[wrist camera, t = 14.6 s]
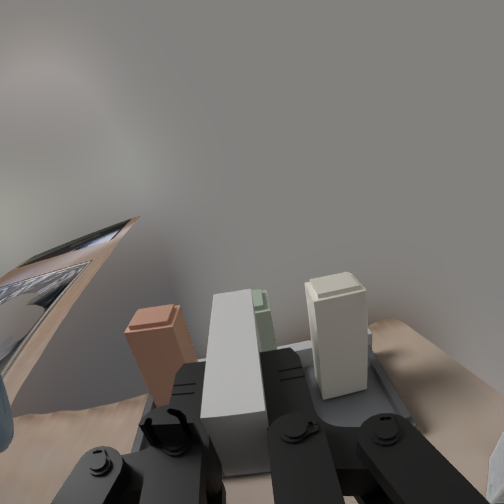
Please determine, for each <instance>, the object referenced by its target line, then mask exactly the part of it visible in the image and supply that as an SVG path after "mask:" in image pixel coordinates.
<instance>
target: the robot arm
mask: <svg viewBox="0 0 504 504" xmlns="http://www.w3.org/2000/svg"><path fill="white" fill-rule="evenodd" d="M171 395H172V396H171V398H170V402H169V405H165V406H160V407H157V408H155V409H153V410H151V411H149V412H148V413H147V414H146V415H145V416H143V417H142V419H141V421H140V423H139V427H140V429H141V430H142V432H143V434H144V435H145V437H146V439H147V440H148V442H149V444H150V445H151V446H150V447H149V448H147V449H144V450H141V451H138V452H134V453H130V454H126V455H120V454H119V452H118V451H117V450H115V449H113V448H111V447H105V446H101V447H96V448H93V449H91V450H89V451H88V452H86V453H85V454H84V455H83V456H82V457H81V458H80V460H79V461H78V463H77V464H76V466H75V467H74V469H73V470H72V472H71V473H70V475H69V476H68V478H67V479H66V481H65V483H64V484H63V486H62V487H61V489H60V490H59V492H58V493H57V495H56V496H55V498H54V499H53V501H52V503H51V504H226V491H225V487H224V484H223V482H222V470H223V472H224V474H225V476H230V475H241V474H251V473H259V472H267V471H271V478H272V486H273V495H274V503H275V504H345V502H344V498H343V496H354V498H355V499H356V501H357V502H358V503H359V504H490V503H489V502H488V501H487V500H486V499H485V498H484V497H483V496H482V495H481V494H480V493H479V492H478V491H477V490H476V489H475V487H474V486H473V485H472V484H471V483H470V482H469V481H468V480H467V479H466V478H465V477H464V476H463V475H462V474H461V473H460V472H459V471H458V470H457V469H456V468H455V467H454V466H453V465H452V464H451V463H450V462H449V461H448V460H447V459H446V458H445V457H444V456H443V455H442V454H441V453H440V452H439V451H438V450H437V449H436V448H435V447H434V446H433V445H432V444H431V443H430V442H429V441H428V440H427V439H426V438H425V437H424V436H423V435H422V434H421V433H420V432H419V431H418V430H417V429H416V428H415V427H414V426H413V425H412V424H411V423H410V422H409V421H408V420H407V419H405V418H404V417H402V416H401V415H397V414H393V413H380V414H377V415H374V416H371V417H370V418H368V419H367V420H365V421H364V422H363V423H362V425H361V426H360V427H341V426H334V425H331V424H328V423H326V422H325V421H323V420H322V419H321V418H320V417H319V416H318V415H317V413H316V411H315V408H314V405H313V401H312V398H311V394H310V391H309V387H308V384H307V381H306V377H305V374H304V370H303V367H302V363H301V360H300V357H299V355H298V354H297V353H296V352H295V351H294V350H293V349H292V348H290V347H288V348H282V349H277V350H271V351H265V352H262V349H261V342H260V337H259V331H258V326H257V320H256V315H255V309H254V303H253V298H252V292H251V289H246V290H241V291H234V292H228V293H221V294H215V295H214V297H213V305H212V313H211V321H210V330H209V339H208V348H207V357H206V361H202V362H193V363H184V364H183V365H182V366H181V368H180V369H179V370H178V371H177V373H176V374H175V379H174V383H173V388H172V393H171ZM13 434H14V425H13V418H12V412H11V408H10V404H9V400H8V396H7V393H6V389H5V386H4V383H3V379H2V376H1V373H0V453H1V452H3V451H5V450H6V449H7V448H8V446H9V444H10V443H11V441H12V438H13Z"/></svg>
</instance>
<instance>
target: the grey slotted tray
mask: <svg viewBox="0 0 504 504" xmlns="http://www.w3.org/2000/svg"><path fill="white" fill-rule="evenodd" d="M288 347H290V348H292V349H293V350H294V351H295V352H296V353H297V354H298V355H299V357H300V360H301V363H302V367H303V370H304V374H305V377H306V381H307V384H308V387H309V391H310V394H311V398H312V401H313V405H314V408H315V411H316V413H317V415H318V416H319V417H320V418H321V419H322V420H323V421H325V422H326V423H328V424H331V425H334V426H341V427H360V426H361V425H362V423H363V422H364V421H365V420H367V419H368V418H370V417H371V416H374V415H377V414H380V413H393V414H397V415H401V416H402V417H404V418H405V419H407V420H408V421H409V422H410V423H411V424H412V425H413V426H414V427H415V428H416V424H415V422H414V420H413V419H412V415H411V414H410V412H409V410H408V409H407V407H406V405H405V404H404V402H403V400H402V399H401V397H400V395H399V394H398V392H397V390H396V389H395V387H394V385H393V384H392V382H391V380H390V379H389V377H388V375H387V374H386V372H385V370H384V369H383V367H382V366H381V364H380V362H379V361H378V359H377V357H376V356H375V354H374V353H373V351H372V333H371V331H370V330H369V328H368V366H367V389H364V390H361V391H357V392H353V393H349V394H346V395H342V396H338V397H333V398H329V399H325V400H323V398H322V395H321V392H320V389H319V386H318V383H317V380H316V377H315V369H314V360H313V350H312V341H311V340H310V341H305V342H300V343H295V344H290V345H284V346H279V347H277V349H282V348H288ZM202 361H206V359H198V362H202ZM155 408H157V407H156V404H155V402H154V400H153V398H152V396H151V394H150V392H149V395H148V398H147V401H146V405H145V408H144V411H143V414H142V417H143V416H145V415H146V414H147V413H148V412H149V411H151V410H153V409H155ZM142 417H141V419H142ZM150 446H151V445H150V444H149V442H148V440H147V439H146V437H145V435H144V434H143V432H142V430H141V429H140V427H138V430H137V434H136V437H135V440H134V444H133V447H132V450H131V453H134V452H138V451H141V450H144V449H147V448H149V447H150ZM268 472H271V471H267V472H259V473H251V474H241V475H230V476H225V474H224V472H223V470H222V477H233V476H243V475H252V474H260V473H268Z"/></svg>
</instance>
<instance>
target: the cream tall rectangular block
mask: <svg viewBox="0 0 504 504" xmlns="http://www.w3.org/2000/svg"><path fill="white" fill-rule="evenodd" d="M305 291H306V299H307V307H308V315H309V323H310V332H311V341H312V350H313V360H314V369H315V377H316V380H317V383H318V386H319V389H320V392H321V395H322V398H323V400H325V399H329V398H333V397H338V396H342V395H346V394H349V393H353V392H357V391H361V390H364V389H367V366H368V322H367V321H368V319H367V290H366V289H365V288H364V287H363V286H362V285H361V283H360V282H359V281H358V280H357V279H356V278H355V277H354V275H353V274H352V273H349V272H343V273H339V274H334V275H329V276H324V277H319V278H314V279H310V282H306V283H305Z"/></svg>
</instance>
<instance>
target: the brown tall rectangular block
mask: <svg viewBox="0 0 504 504" xmlns="http://www.w3.org/2000/svg"><path fill="white" fill-rule="evenodd" d="M124 334H125V337H126V339H127V342H128V344H129V347H130V349H131V351H132V354H133V356H134V358H135V361H136V363H137V365H138V368H139V370H140V372H141V374H142V377H143V379H144V381H145V383H146V385H147V388H148V390H149V392H150V394H151V396H152V398H153V400H154V402H155V404H156V407H160V406H165V405H169V402H170V398H171V396H172V395H171V393H172V388H173V383H174V379H175V374H176V373H177V371H178V370H179V369H180V368H181V366H182V365H183V364H184V363H193V362H198V360H197V357H196V354H195V351H194V348H193V345H192V342H191V338H190V335H189V332H188V329H187V326H186V322H185V319H184V316H183V313H182V309H181V306H180V305H178V306H174V304H171V305H164V306H157V307H151V308H144V309H138V311H137V312H136V313H135V315H134V317H133V319H132V320H131V322H130V324H129V325H128V327H127V329H126V331H125V332H124Z"/></svg>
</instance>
